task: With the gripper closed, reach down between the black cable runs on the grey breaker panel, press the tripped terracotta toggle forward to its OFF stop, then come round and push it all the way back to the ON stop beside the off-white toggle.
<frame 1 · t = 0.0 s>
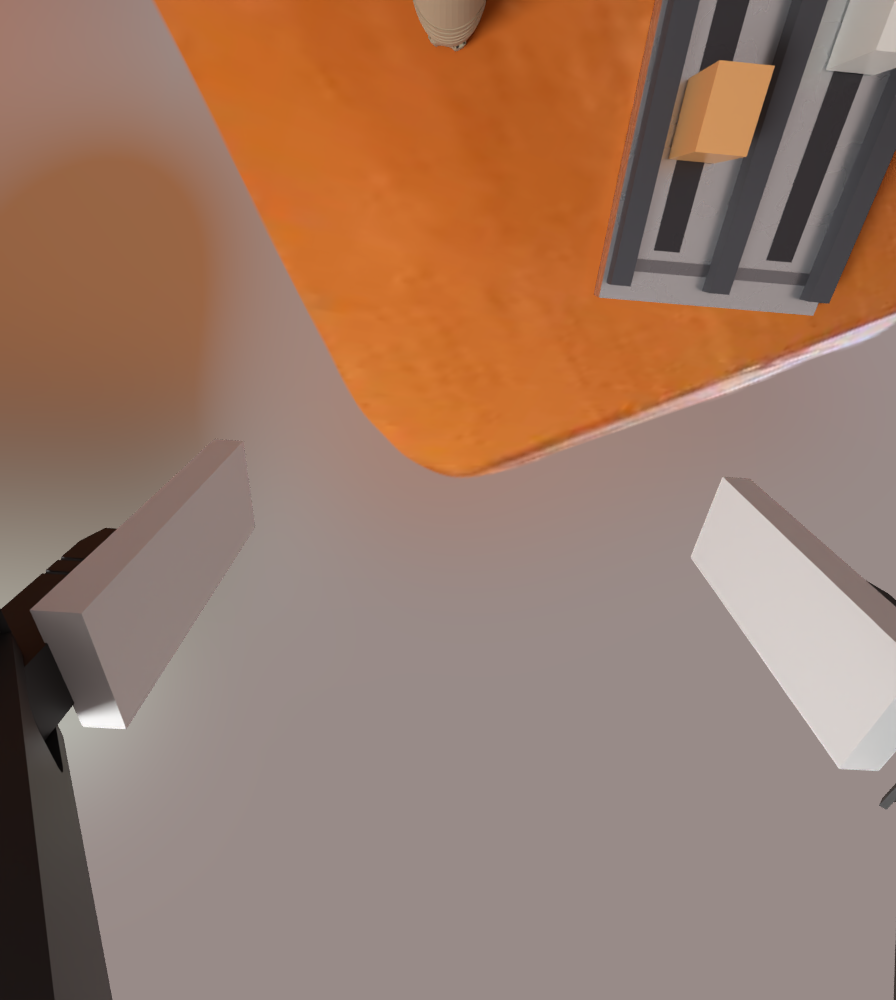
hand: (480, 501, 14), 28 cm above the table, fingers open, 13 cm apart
slotted rail tray: (750, 132, 32), resting on panel
toggle a: (716, 116, 29), point 4 cm above the table, slide at 0.0 cm
panel: (750, 132, 32), on the table
toggle b: (893, 15, 27), point 4 cm above the table, slide at -5.0 cm
handle: (450, 20, 30), on the table
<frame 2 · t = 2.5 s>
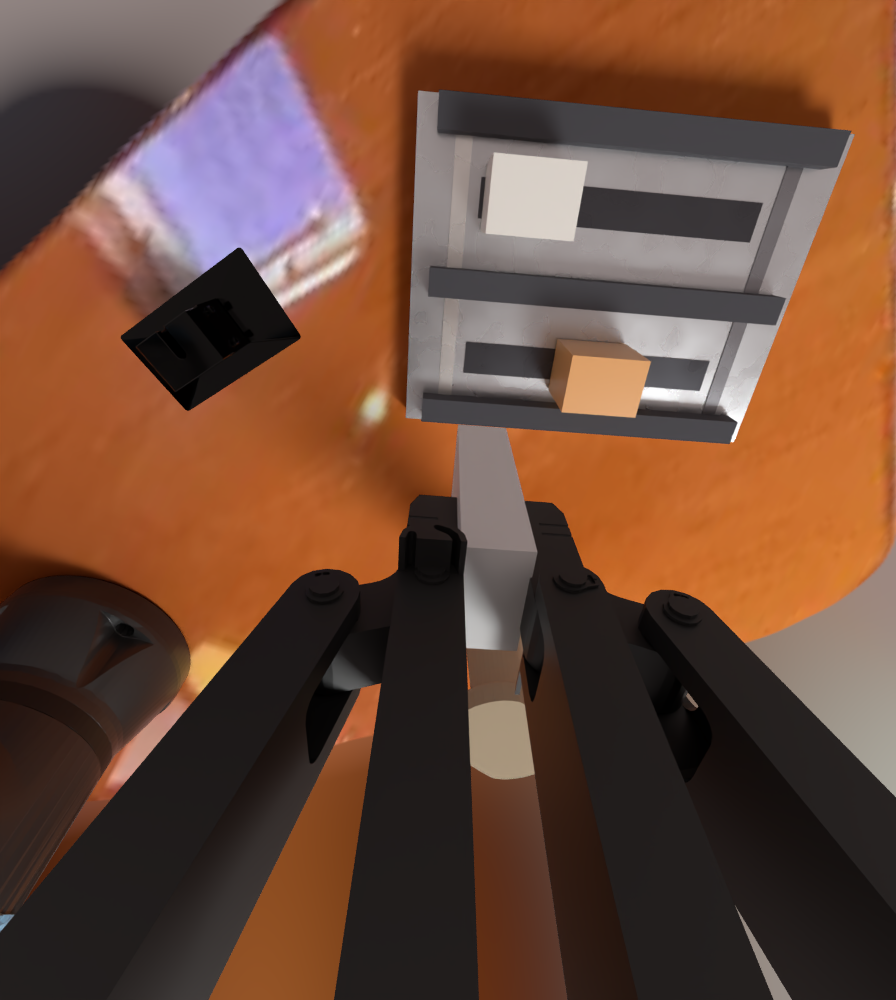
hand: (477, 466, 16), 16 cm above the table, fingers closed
slotted rail tray: (594, 291, 29), resting on panel
toggle a: (595, 376, 27), point 4 cm above the table, slide at 0.0 cm
panel: (594, 291, 29), on the table
black notched stand: (215, 334, 30), on the table
toggle b: (528, 200, 23), point 4 cm above the table, slide at -5.0 cm
handle: (485, 562, 38), on the table
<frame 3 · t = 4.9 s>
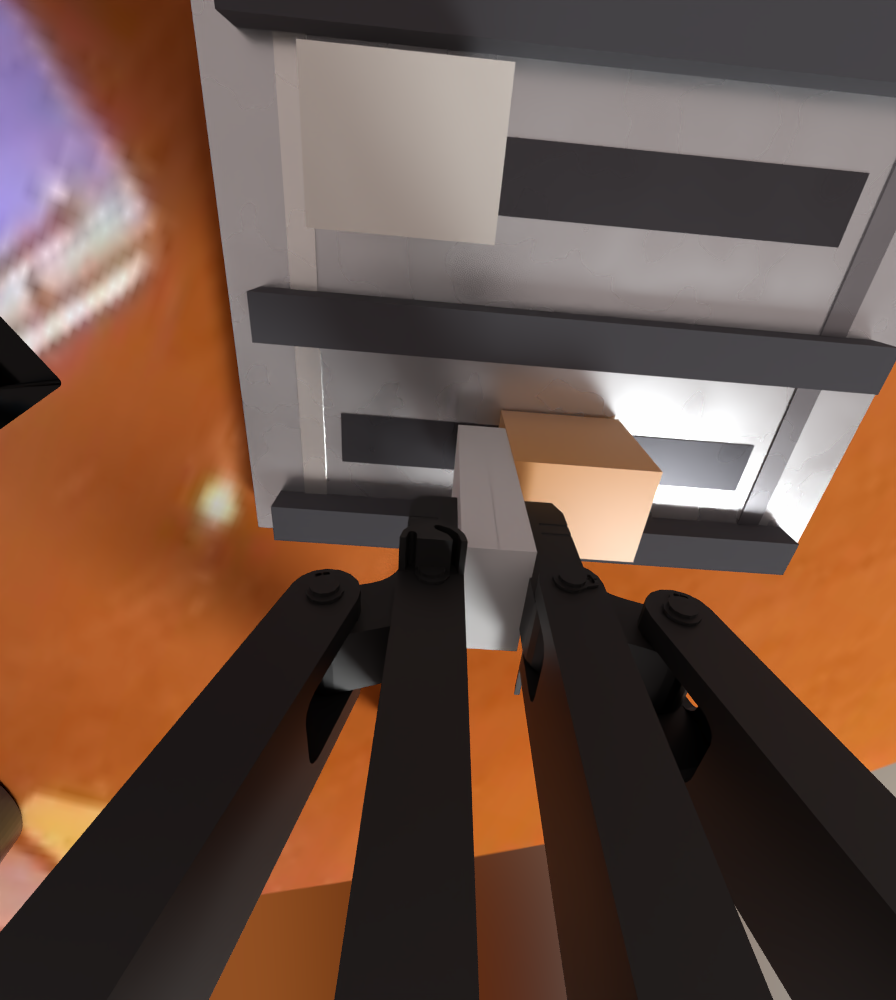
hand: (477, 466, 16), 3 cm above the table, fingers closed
slotted rail tray: (559, 327, 17), resting on panel
toggle a: (563, 481, 16), point 4 cm above the table, slide at 0.2 cm, touching gripper
panel: (559, 327, 17), on the table
toggle b: (410, 160, 11), point 4 cm above the table, slide at -5.0 cm
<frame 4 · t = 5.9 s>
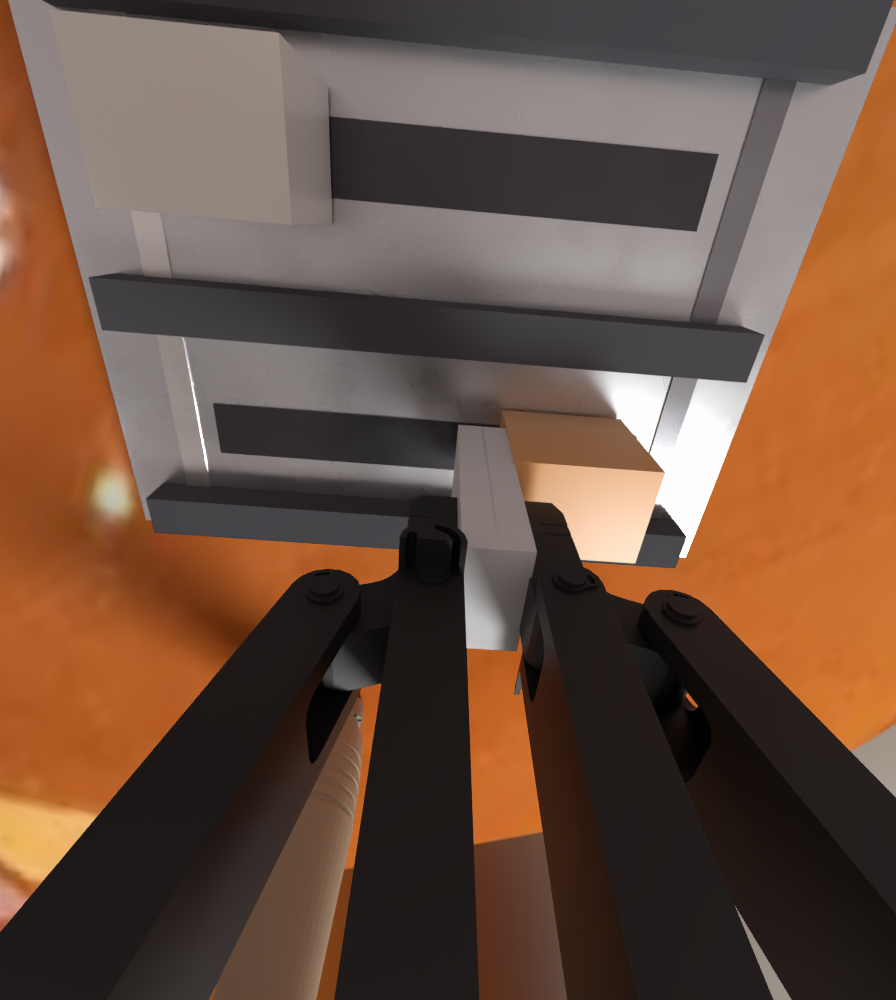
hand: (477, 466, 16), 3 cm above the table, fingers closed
slotted rail tray: (435, 316, 17), resting on panel
toggle a: (564, 482, 15), point 4 cm above the table, slide at 4.4 cm, touching gripper
panel: (435, 316, 17), on the table
toggle b: (222, 140, 11), point 4 cm above the table, slide at -5.0 cm
handle: (336, 700, 26), on the table
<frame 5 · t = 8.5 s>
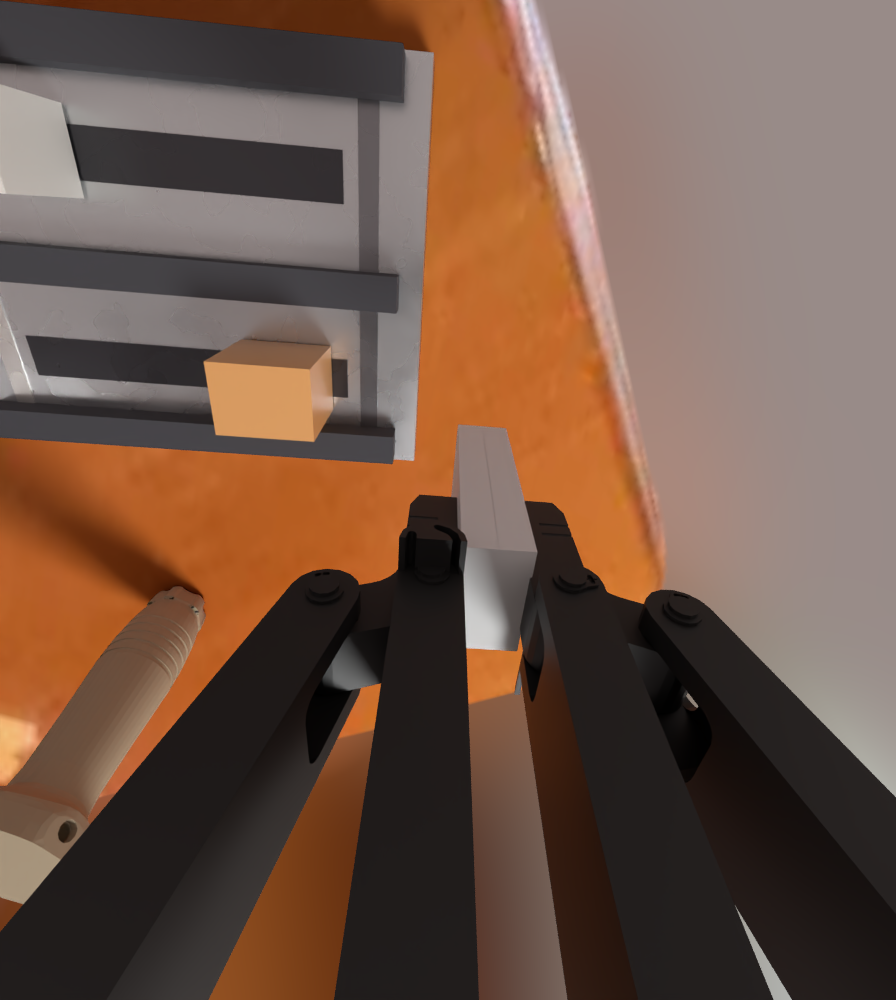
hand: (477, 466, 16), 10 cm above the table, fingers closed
slotted rail tray: (191, 270, 22), resting on panel
toggle a: (276, 388, 21), point 4 cm above the table, slide at 4.5 cm
panel: (191, 270, 22), on the table
handle: (185, 600, 32), on the table
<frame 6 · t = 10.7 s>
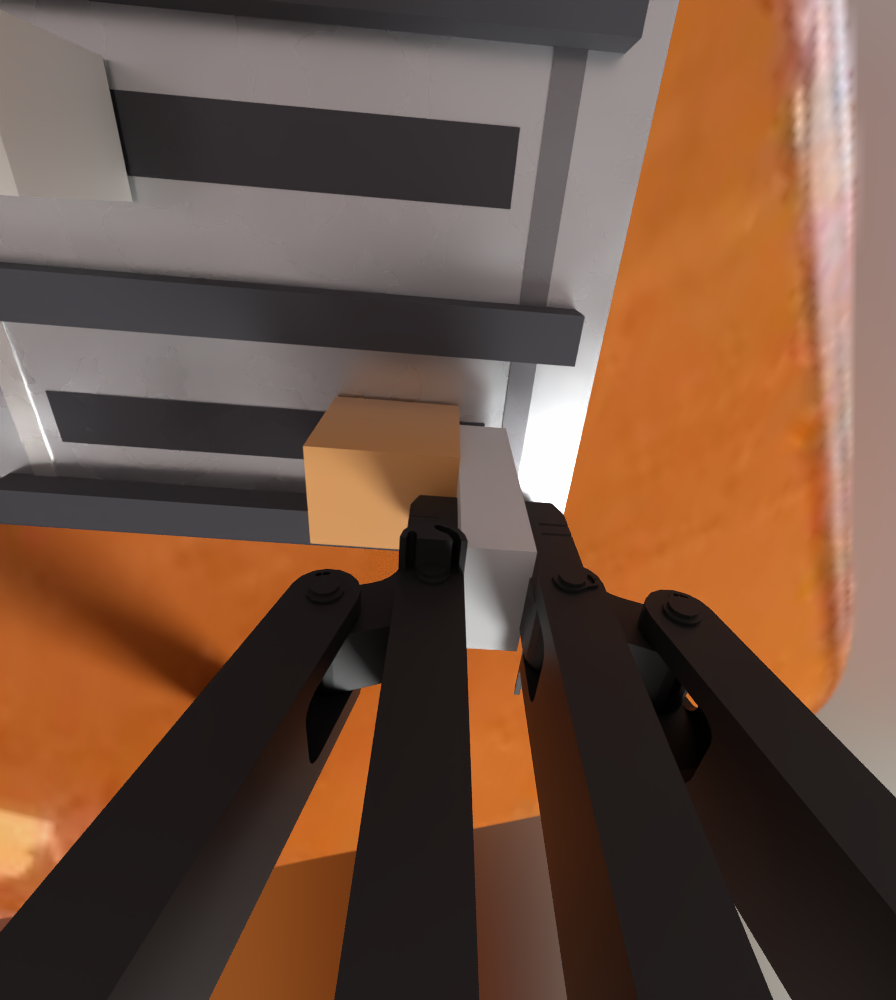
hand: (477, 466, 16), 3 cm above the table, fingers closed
slotted rail tray: (273, 300, 16), resting on panel
toggle a: (389, 469, 15), point 4 cm above the table, slide at 4.3 cm, touching gripper
panel: (273, 300, 16), on the table
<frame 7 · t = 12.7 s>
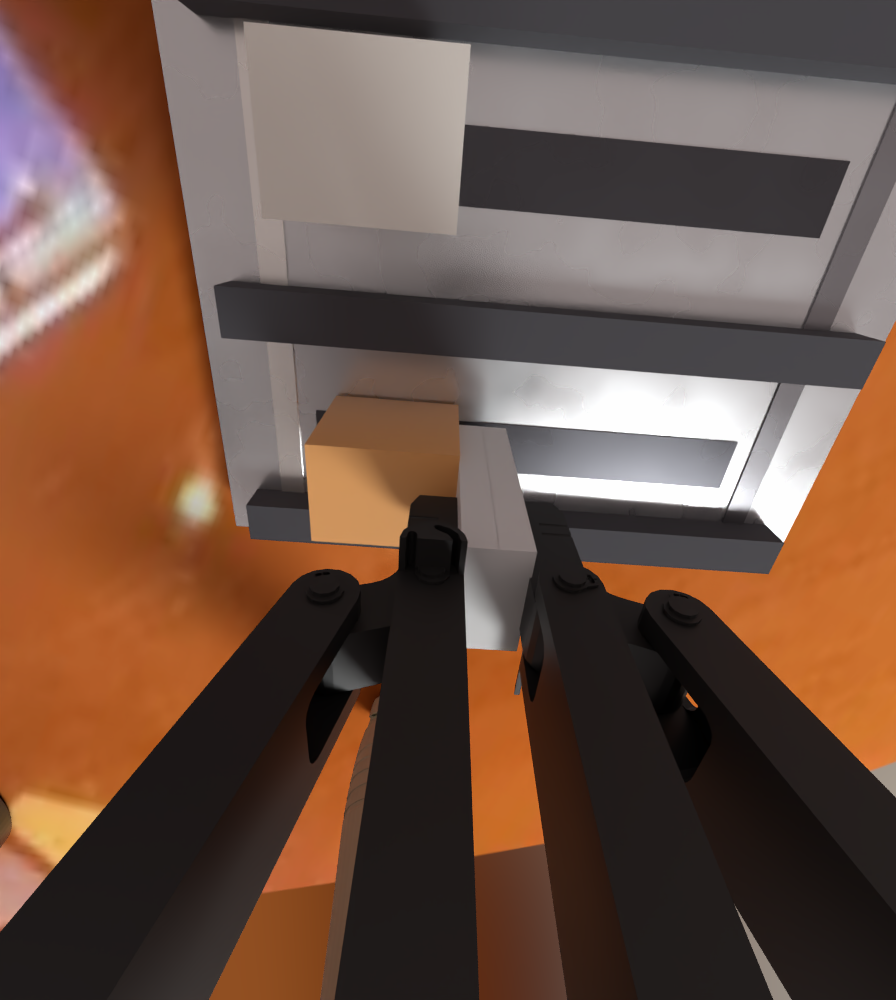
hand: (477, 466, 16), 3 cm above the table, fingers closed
slotted rail tray: (538, 322, 16), resting on panel
toggle a: (390, 468, 15), point 4 cm above the table, slide at -4.5 cm, touching gripper
panel: (538, 322, 16), on the table
toggle b: (373, 150, 11), point 4 cm above the table, slide at -5.0 cm
handle: (401, 704, 26), on the table
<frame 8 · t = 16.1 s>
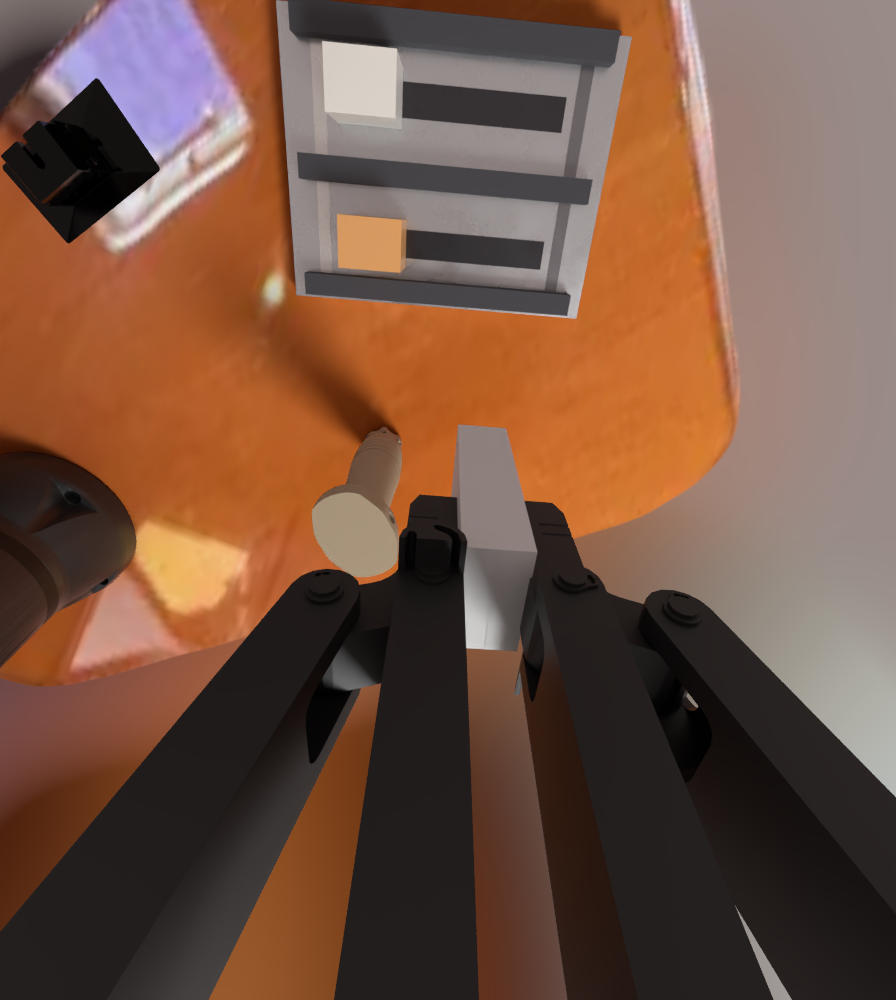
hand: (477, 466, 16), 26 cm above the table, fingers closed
slotted rail tray: (445, 181, 34), resting on panel
toggle a: (373, 242, 33), point 4 cm above the table, slide at -4.5 cm
panel: (445, 181, 34), on the table
black notched stand: (87, 169, 35), on the table
toggle b: (365, 89, 29), point 4 cm above the table, slide at -5.0 cm
handle: (384, 441, 44), on the table
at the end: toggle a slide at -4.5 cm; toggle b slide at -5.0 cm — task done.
